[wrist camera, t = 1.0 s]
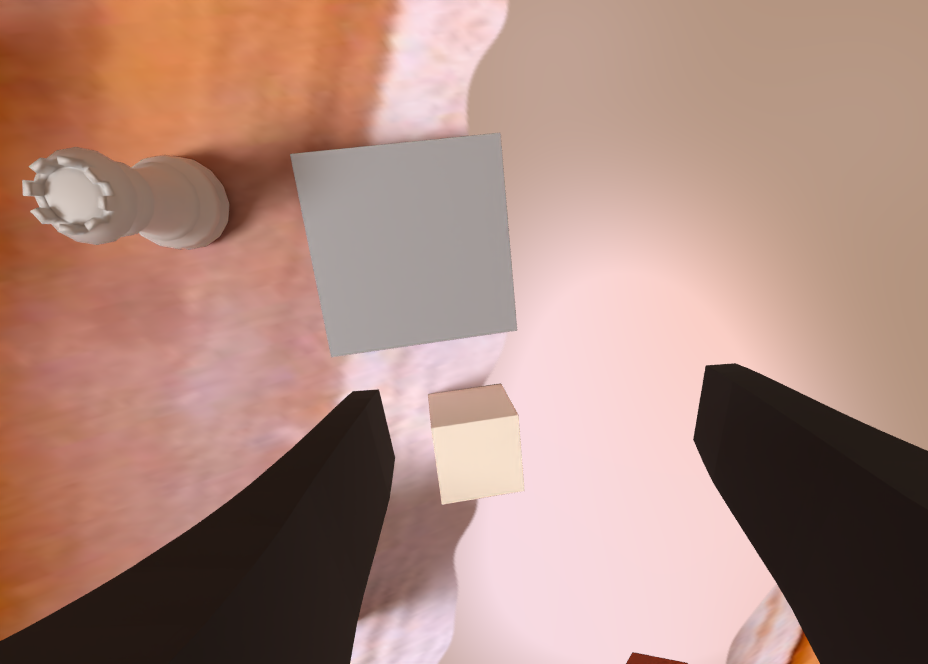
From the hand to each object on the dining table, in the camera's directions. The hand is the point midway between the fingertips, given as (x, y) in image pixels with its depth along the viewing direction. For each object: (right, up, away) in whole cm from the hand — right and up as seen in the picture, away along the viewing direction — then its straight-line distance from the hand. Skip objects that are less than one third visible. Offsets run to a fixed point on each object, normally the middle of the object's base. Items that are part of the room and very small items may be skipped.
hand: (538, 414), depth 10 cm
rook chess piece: (-16, +8, +12) cm, 22 cm away
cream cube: (-1, -4, +17) cm, 18 cm away
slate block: (-5, +7, +14) cm, 17 cm away
